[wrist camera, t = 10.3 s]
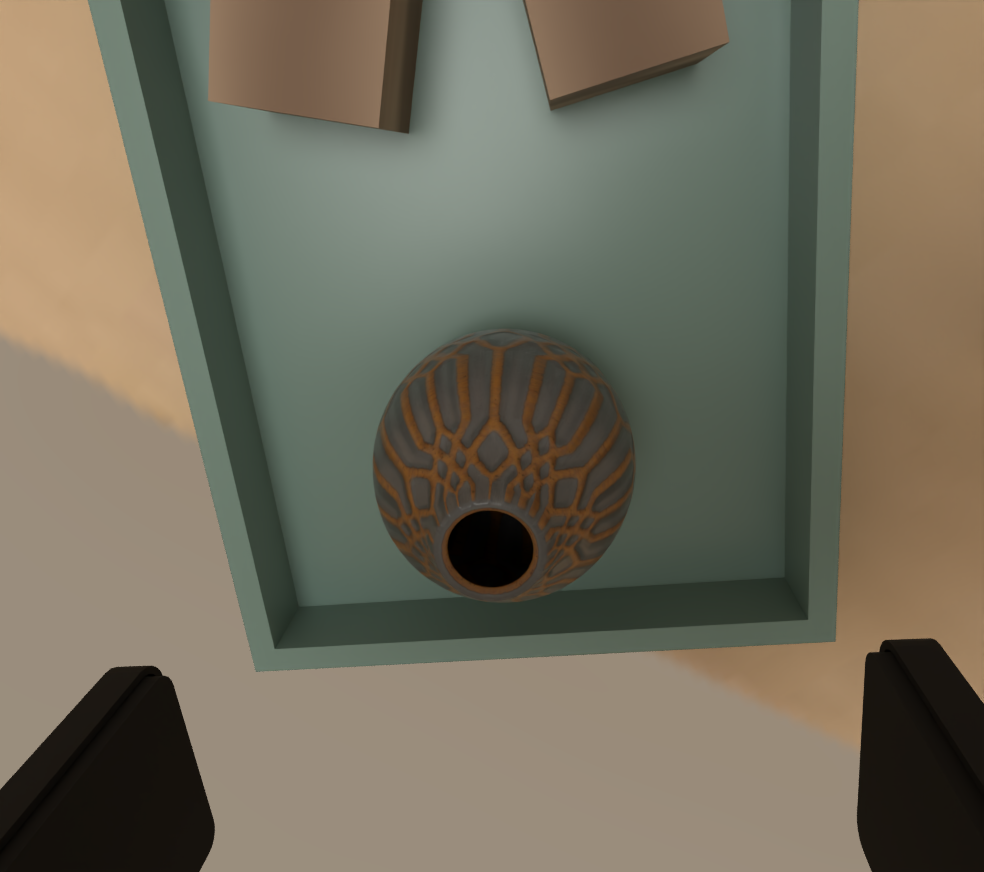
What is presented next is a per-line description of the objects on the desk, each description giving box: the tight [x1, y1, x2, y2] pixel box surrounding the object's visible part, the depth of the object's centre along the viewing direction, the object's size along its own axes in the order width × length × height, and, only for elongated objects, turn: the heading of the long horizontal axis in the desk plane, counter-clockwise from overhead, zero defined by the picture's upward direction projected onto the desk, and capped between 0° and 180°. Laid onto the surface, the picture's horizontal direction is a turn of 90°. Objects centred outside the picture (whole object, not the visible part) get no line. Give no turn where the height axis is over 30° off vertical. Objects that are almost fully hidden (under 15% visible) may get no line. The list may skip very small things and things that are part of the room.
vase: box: [373, 329, 636, 603], centre depth 20 cm, size 7×7×9 cm
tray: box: [88, 0, 859, 672], centre depth 22 cm, size 18×22×3 cm
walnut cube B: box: [208, 0, 423, 134], centre depth 19 cm, size 4×4×4 cm
